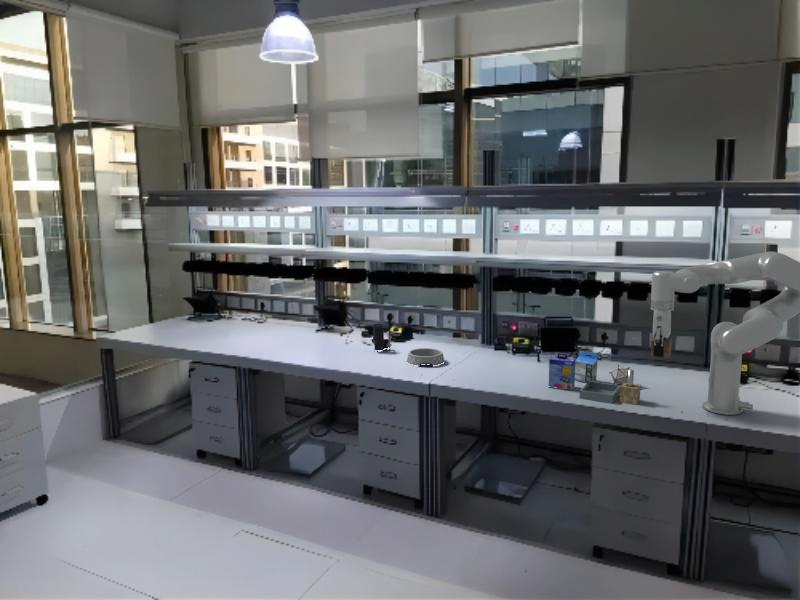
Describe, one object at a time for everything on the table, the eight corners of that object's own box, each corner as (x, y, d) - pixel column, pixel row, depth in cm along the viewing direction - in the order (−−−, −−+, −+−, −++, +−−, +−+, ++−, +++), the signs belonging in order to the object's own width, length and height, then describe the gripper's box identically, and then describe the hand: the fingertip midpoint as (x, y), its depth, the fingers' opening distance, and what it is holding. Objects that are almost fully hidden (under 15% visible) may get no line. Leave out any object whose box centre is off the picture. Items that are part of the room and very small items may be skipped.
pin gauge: (632, 400, 218) (634, 369, 216) (631, 402, 216) (633, 371, 215) (627, 399, 219) (628, 369, 217) (626, 401, 218) (627, 370, 216)
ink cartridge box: (547, 388, 235) (548, 353, 232) (549, 384, 240) (550, 350, 237) (573, 390, 231) (574, 355, 229) (574, 386, 236) (576, 352, 234)
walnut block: (671, 354, 212) (671, 338, 211) (668, 358, 207) (669, 342, 206) (653, 353, 215) (654, 337, 214) (650, 356, 210) (651, 340, 209)
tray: (620, 393, 227) (620, 385, 227) (612, 403, 215) (612, 395, 215) (589, 388, 233) (589, 381, 233) (579, 398, 222) (579, 390, 221)
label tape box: (572, 380, 245) (573, 351, 243) (578, 378, 248) (579, 350, 246) (591, 384, 238) (592, 355, 237) (596, 382, 241) (598, 353, 239)
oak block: (639, 400, 219) (640, 384, 218) (636, 404, 214) (637, 389, 213) (622, 397, 222) (623, 382, 221) (619, 402, 217) (620, 386, 216)
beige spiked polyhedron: (616, 392, 240) (609, 369, 244) (637, 387, 236) (630, 364, 241) (611, 387, 233) (605, 364, 237) (633, 381, 229) (626, 358, 234)
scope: (391, 323, 298) (380, 327, 290) (391, 349, 301) (381, 354, 292) (378, 322, 303) (367, 325, 294) (378, 348, 305) (367, 352, 296)
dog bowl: (446, 367, 267) (446, 356, 266) (406, 368, 267) (406, 356, 267) (443, 358, 284) (444, 347, 283) (406, 358, 284) (406, 347, 284)
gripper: (670, 310, 199) (667, 361, 202) (676, 302, 213) (674, 350, 216) (646, 308, 203) (644, 358, 206) (654, 301, 217) (652, 348, 220)
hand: (659, 353), depth 211 cm, fingers closed on walnut block, 6 cm apart
